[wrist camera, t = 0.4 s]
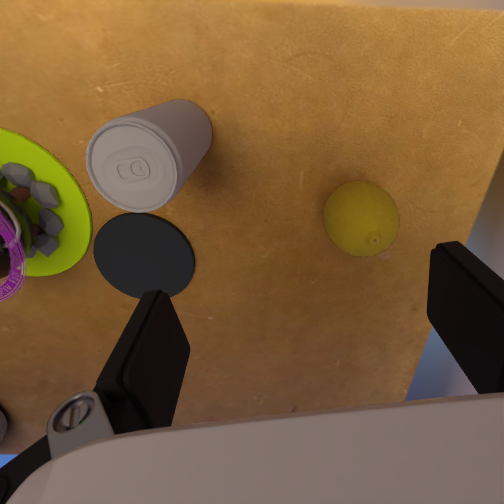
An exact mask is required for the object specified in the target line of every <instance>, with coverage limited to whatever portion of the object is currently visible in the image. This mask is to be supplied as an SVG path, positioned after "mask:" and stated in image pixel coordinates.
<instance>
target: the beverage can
mask: <svg viewBox="0 0 504 504" xmlns="http://www.w3.org/2000/svg"><path fill="white" fill-rule="evenodd" d="M211 141H212V128H211V124H210V122H209V119H208V117H207V116H206V114H205V113H204V111H203V110H202V109H201V108H199V107H198V106H197V105H196V104H194V103H192V102H190V101H186V100H172V101H169V102H166V103H163V104H160V105H156V106H153V107H150V108H147V109H143V110H140V111H137V112H133V113H130V114H127V115H124V116H120V117H118V118H115V119H113V120H110V121H108V122H107V123H105V124H104V125H103V126H102V127H101V128H100V129H98V131H97V132H96V133H94V135H93V136H92V138H91V140H90V141H89V143H88V147H87V151H86V168H87V171H88V174H89V177H90V179H91V181H92V183H93V184H94V186H95V188H96V189H97V191H98V192H99V193H100V194H101V195H102V196H103V197H104V198H105V199H106V200H108V201H109V202H110V203H112V204H113V205H115V206H117V207H119V208H121V209H124V210H126V211H131V212H136V213H141V212H150V211H153V210H156V209H159V208H160V207H162V206H164V205H165V204H167V203H168V202H170V201H171V200H172V199H173V198H174V197H175V196H176V194H177V193H178V192H179V190H180V189H181V188H182V186H183V185H184V183H185V182H186V181H187V179H188V178H189V176H190V175H191V173H192V172H193V171H194V169H195V168H196V166H197V165H198V164H199V162H200V161H201V159H202V158H203V156H204V155H205V154H206V152H207V151H208V149H209V147H210V144H211Z"/></svg>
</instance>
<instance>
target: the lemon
mask: <svg viewBox="0 0 504 504" xmlns="http://www.w3.org/2000/svg"><path fill="white" fill-rule="evenodd" d="M323 222H324V226H325V230H326V232H327V234H328V236H329V238H330V239H331V241H332V242H333V243H334V244H335V245H336V246H337V247H338V248H340V249H341V250H342V251H344V252H346V253H348V254H350V255H354V256H358V257H367V256H372V255H376V254H378V253H380V252H382V251H384V250H385V249H387V248H388V247H389V246H390V245H391V244H392V243H393V241H394V239H395V238H396V236H397V234H398V230H399V226H400V217H399V213H398V209H397V206H396V203H395V202H394V200H393V199H392V197H391V196H390V194H389V193H388V192H386V191H385V190H384V189H383V188H382V187H380V186H378V185H376V184H374V183H371V182H367V181H352V182H349V183H346V184H343V185H341V186H340V187H338V188H337V189H336V190H335V191H334V192H333V193H332V194H331V195H330V196H329V198H328V199H327V201H326V204H325V207H324V210H323Z"/></svg>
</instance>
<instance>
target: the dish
mask: <svg viewBox="0 0 504 504" xmlns="http://www.w3.org/2000/svg"><path fill="white" fill-rule="evenodd" d="M6 430H7V421H6V418H5V416H4V414H3V413H2V412H1V410H0V443H1V441H2V439H3V437H4V435H5V433H6Z"/></svg>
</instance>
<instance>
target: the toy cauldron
mask: <svg viewBox="0 0 504 504" xmlns="http://www.w3.org/2000/svg"><path fill="white" fill-rule="evenodd" d="M92 228H93V227H92V218H91V212H90V209H89V206H88V203H87V199H86V197H85V195H84V194H83V192H82V190H81V188H80V186H79V184H78V183H77V181H76V180H75V179H74V177H73V176H72V175H71V173H70V172H69V171H68V169H67V168H66V167H65V166H64V165H63V164H62V163H61V162H60V161H59V160H58V159H57V158H56V157H55V156H54V155H52V154H51V153H50V152H48V151H47V150H46V149H44V148H43V147H42V146H40V145H39V144H37V143H36V142H34V141H32V140H30V139H28V138H26V137H24V136H23V135H21V134H18V133H15V132H13V131H10V130H7V129H4V128H1V127H0V279H1V278H4V277H6V276H8V275H9V274H10V275H9V277H8V279H7V278H6V279H7V281H6V282H5V281H4V282H5V283H4V282H3V283H4V284H3V283H2V284H3V285H2V284H1V285H2V286H1V287H0V288H1V289H2V290H3V291H2V290H1V289H0V290H1V291H2V293H6V294H8V293H9V292H11V291H12V290H13V289H14V288H15V286H16V285H17V283H18V282H19V279H20V276H21V275H22V278H21V281H20V283H19V285H20V284H21V282H22V279H23V275H25V276H26V275H27V276H48V275H53V274H58V273H60V272H62V271H65V270H67V269H69V268H71V267H72V266H73V265H75V264H76V263H77V262H78V261H80V260H81V258H82V257H83V256H84V254H85V253H86V252H87V249H88V247H89V244H90V242H91V236H92ZM13 273H14V274H15V273H16V274H15V275H16V276H18V275H19V276H18V277H16V276H15V275H14V274H13ZM12 274H13V275H12ZM14 277H15V278H14ZM9 278H10V280H12V281H14V283H13V282H12V281H10V280H9ZM13 278H14V279H13ZM16 278H17V279H16ZM15 279H16V280H15ZM24 279H25V277H24ZM17 280H18V281H17ZM15 282H16V284H15ZM23 282H24V280H23ZM22 284H23V283H22ZM22 284H21V286H22ZM7 285H9V286H10V287H11V288H12V289H11V290H10V289H9V287H8V286H7ZM19 285H18V286H17V288H19V287H20V288H21V286H19ZM3 286H4V288H5V290H6V289H7V290H8V292H7V290H6V291H5V290H4V289H3ZM5 286H6V287H8V288H6V287H5ZM17 288H16V289H17ZM20 288H19V289H20ZM16 289H15V290H16ZM19 289H18V290H19ZM15 290H14V291H13V292H12V293H10V294H9V295H7V296H6V297H3V298H4V300H6V299H8V298H10V297H11V296H10V295H11V294H13V293H14V292H15ZM18 290H16V292H17V291H18ZM1 291H0V294H1V295H3V296H5V295H6V294H2V293H1ZM16 292H15V293H16ZM15 293H14V294H15ZM14 294H13V295H14ZM1 295H0V297H2V296H1ZM13 295H12V296H13ZM8 296H10V297H8ZM7 297H8V298H7ZM3 298H1V299H3ZM5 298H6V299H5ZM1 299H0V300H1ZM1 301H3V300H1ZM1 301H0V302H1Z"/></svg>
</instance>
